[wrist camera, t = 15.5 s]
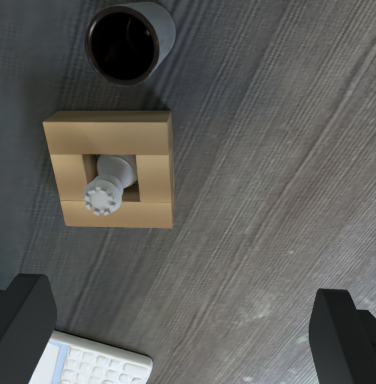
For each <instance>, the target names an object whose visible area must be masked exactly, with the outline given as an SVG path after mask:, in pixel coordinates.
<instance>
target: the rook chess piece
mask: <svg viewBox="0 0 376 384" xmlns="http://www.w3.org/2000/svg"><path fill="white" fill-rule="evenodd" d="M97 171H98V175H99V176H97V177H96V178H95V179H94V180H93V181H92V182H90V183H89V184H88V185H87V186H86V187H85V189H84V193H83V194H84V200H85V201H86V205H85V206H86V207H87V209H88V210H89V209H91V208H92V209H93V210H94V213H93V214H96V215H99V214H100V213H104V215H108V214H110V213H111V212H114V211H116V210H117V209H118V208H119V207H120V205H121V202H122V197H121V196H122V194H123V188H126V187H129V186H131V185H133V184H134V183H135V182H136V181H137V180H138V174H137V164H136V155H131V154H100V156H99V158H98V162H97Z"/></svg>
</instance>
